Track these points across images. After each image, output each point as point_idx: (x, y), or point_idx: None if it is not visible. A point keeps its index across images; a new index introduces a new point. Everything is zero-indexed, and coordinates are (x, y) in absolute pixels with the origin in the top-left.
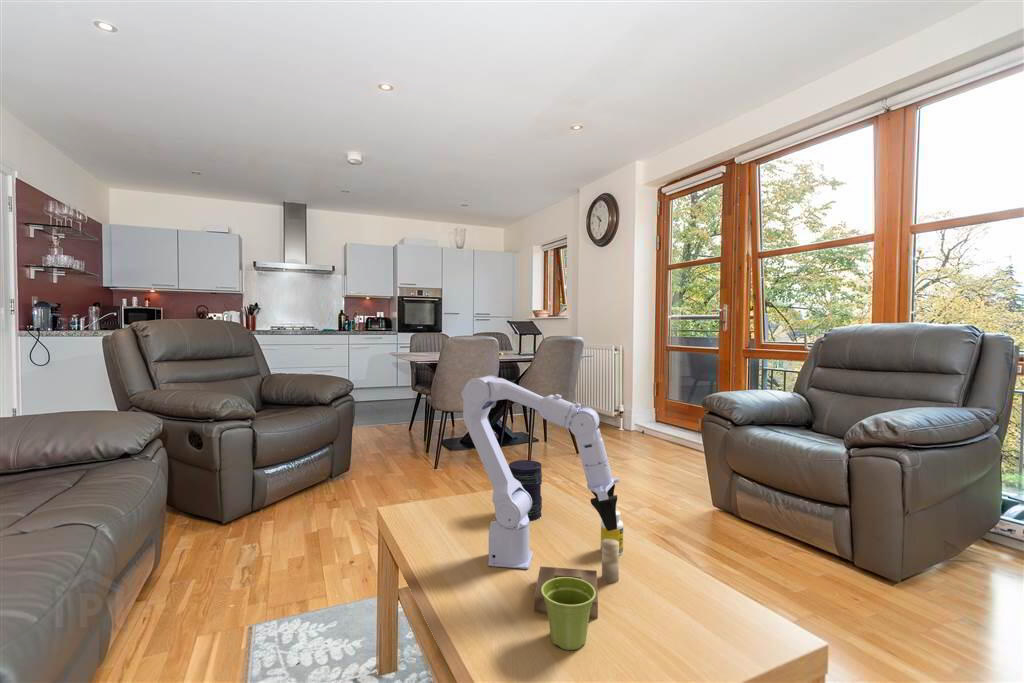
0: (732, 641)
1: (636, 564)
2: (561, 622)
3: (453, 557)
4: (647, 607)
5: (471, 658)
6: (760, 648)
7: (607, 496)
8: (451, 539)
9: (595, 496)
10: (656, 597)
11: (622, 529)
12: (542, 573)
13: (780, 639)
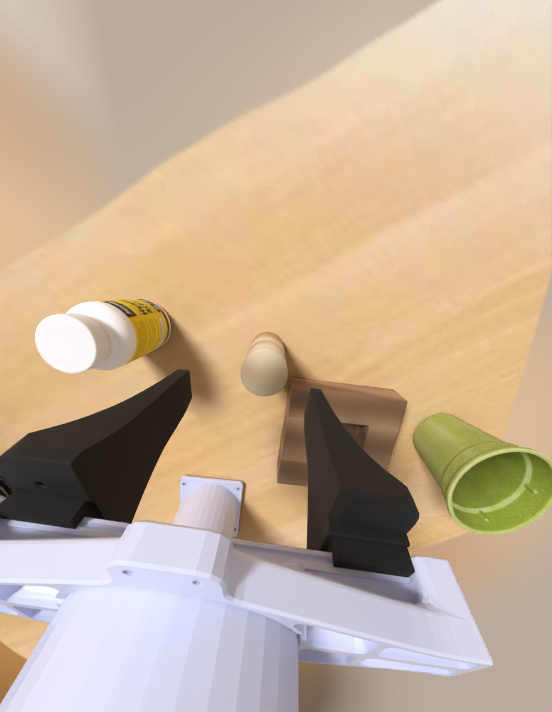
0: (496, 157)
1: (201, 279)
2: (499, 476)
3: None
4: (369, 298)
5: (451, 533)
6: (529, 101)
7: (457, 586)
8: None
9: (142, 494)
10: (337, 270)
11: (118, 306)
12: (303, 480)
13: (515, 25)
